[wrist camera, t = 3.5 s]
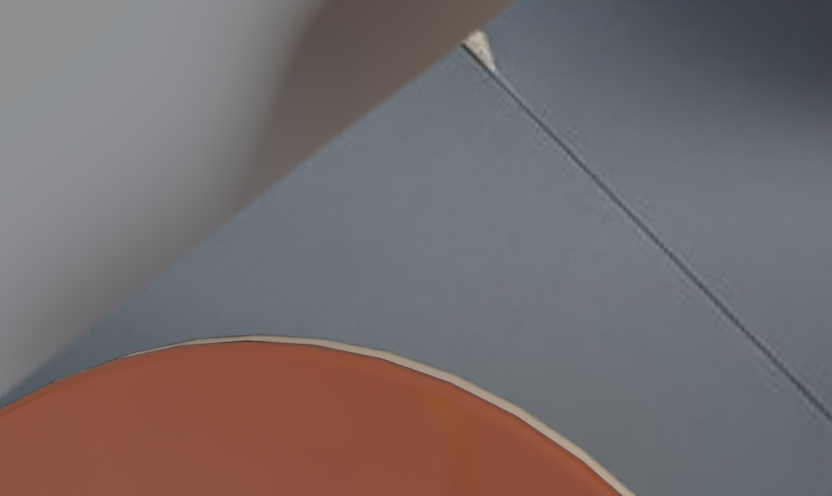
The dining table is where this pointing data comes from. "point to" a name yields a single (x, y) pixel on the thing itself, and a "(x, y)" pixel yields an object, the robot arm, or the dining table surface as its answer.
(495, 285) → the dining table surface
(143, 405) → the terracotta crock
